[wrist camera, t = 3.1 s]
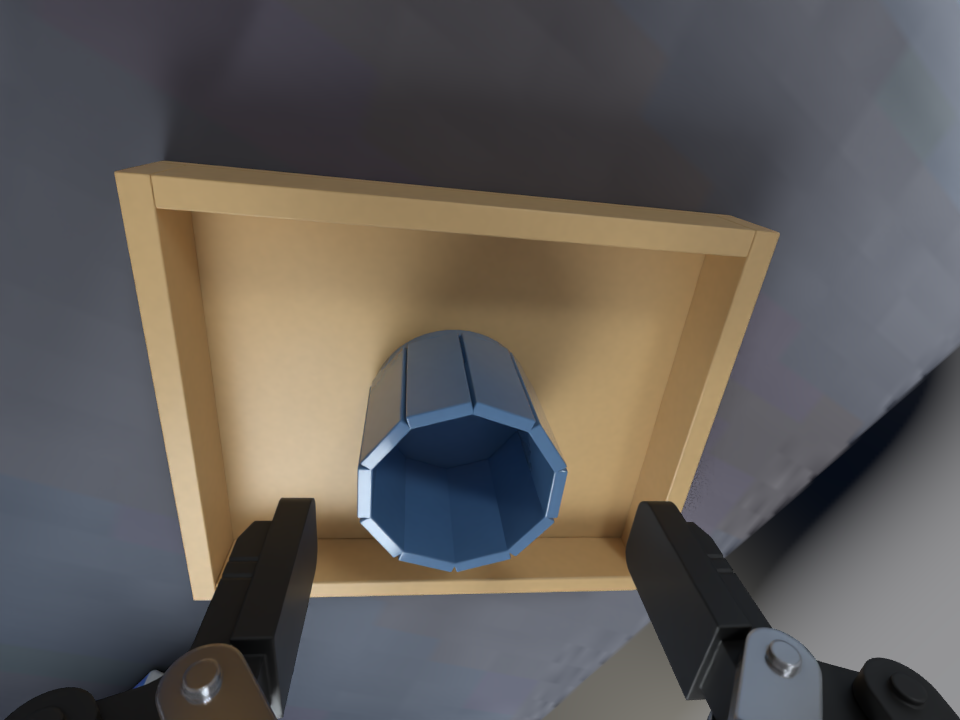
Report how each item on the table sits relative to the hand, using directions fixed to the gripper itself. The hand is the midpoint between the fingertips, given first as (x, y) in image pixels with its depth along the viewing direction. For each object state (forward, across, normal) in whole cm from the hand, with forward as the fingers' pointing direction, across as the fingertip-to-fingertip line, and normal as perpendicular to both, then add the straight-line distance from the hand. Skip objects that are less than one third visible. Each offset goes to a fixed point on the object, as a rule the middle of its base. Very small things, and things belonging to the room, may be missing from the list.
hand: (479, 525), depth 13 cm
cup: (+6, 0, 0) cm, 7 cm away
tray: (+7, 0, 0) cm, 7 cm away
